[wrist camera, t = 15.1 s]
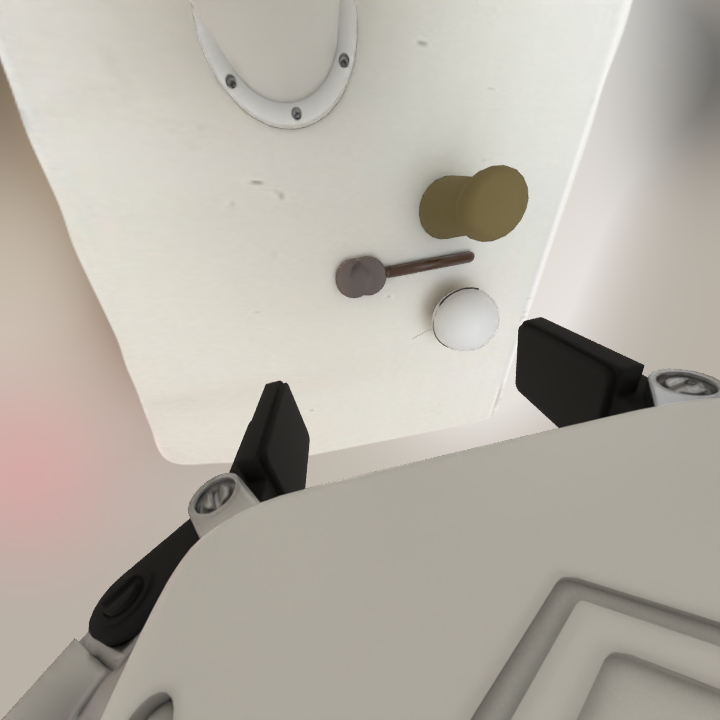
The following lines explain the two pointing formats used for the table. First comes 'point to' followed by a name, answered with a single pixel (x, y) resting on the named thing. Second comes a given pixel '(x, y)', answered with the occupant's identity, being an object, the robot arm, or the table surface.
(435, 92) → the table surface
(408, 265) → the wooden spoon
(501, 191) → the cork
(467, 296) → the white ovoid
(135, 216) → the table surface
